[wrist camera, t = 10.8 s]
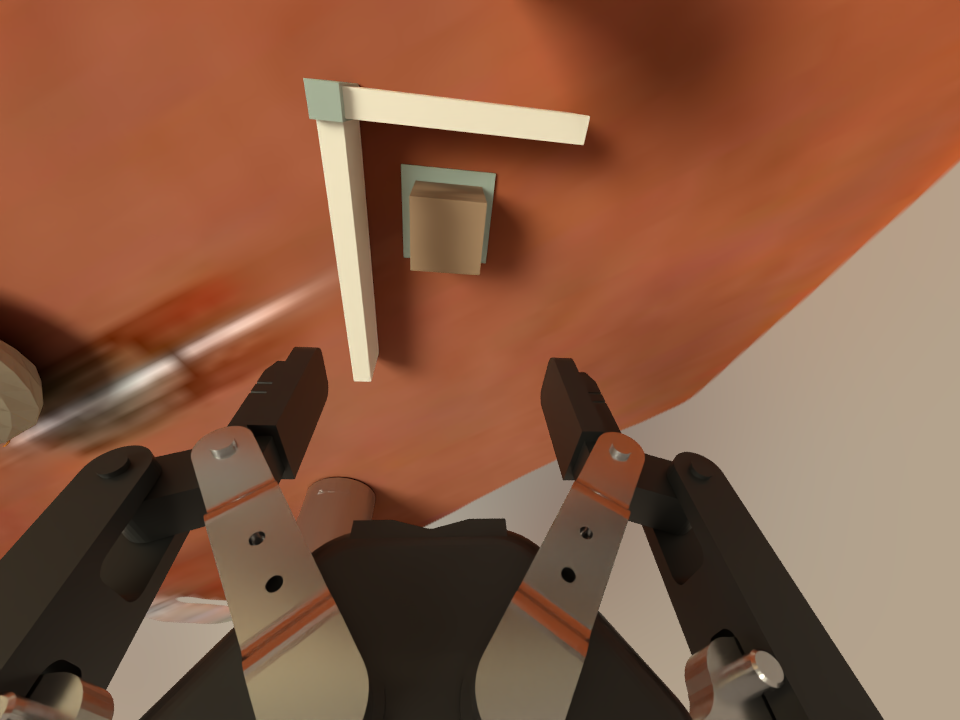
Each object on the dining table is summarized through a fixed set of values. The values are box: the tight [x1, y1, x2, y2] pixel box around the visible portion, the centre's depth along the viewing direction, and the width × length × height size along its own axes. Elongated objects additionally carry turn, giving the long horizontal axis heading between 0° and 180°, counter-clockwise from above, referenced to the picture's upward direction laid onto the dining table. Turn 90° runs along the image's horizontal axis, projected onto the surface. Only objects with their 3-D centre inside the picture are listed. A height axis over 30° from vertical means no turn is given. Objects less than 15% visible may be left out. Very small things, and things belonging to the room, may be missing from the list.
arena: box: [303, 78, 590, 382], centre depth 28 cm, size 22×16×5 cm
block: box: [409, 180, 487, 275], centre depth 27 cm, size 5×5×5 cm
